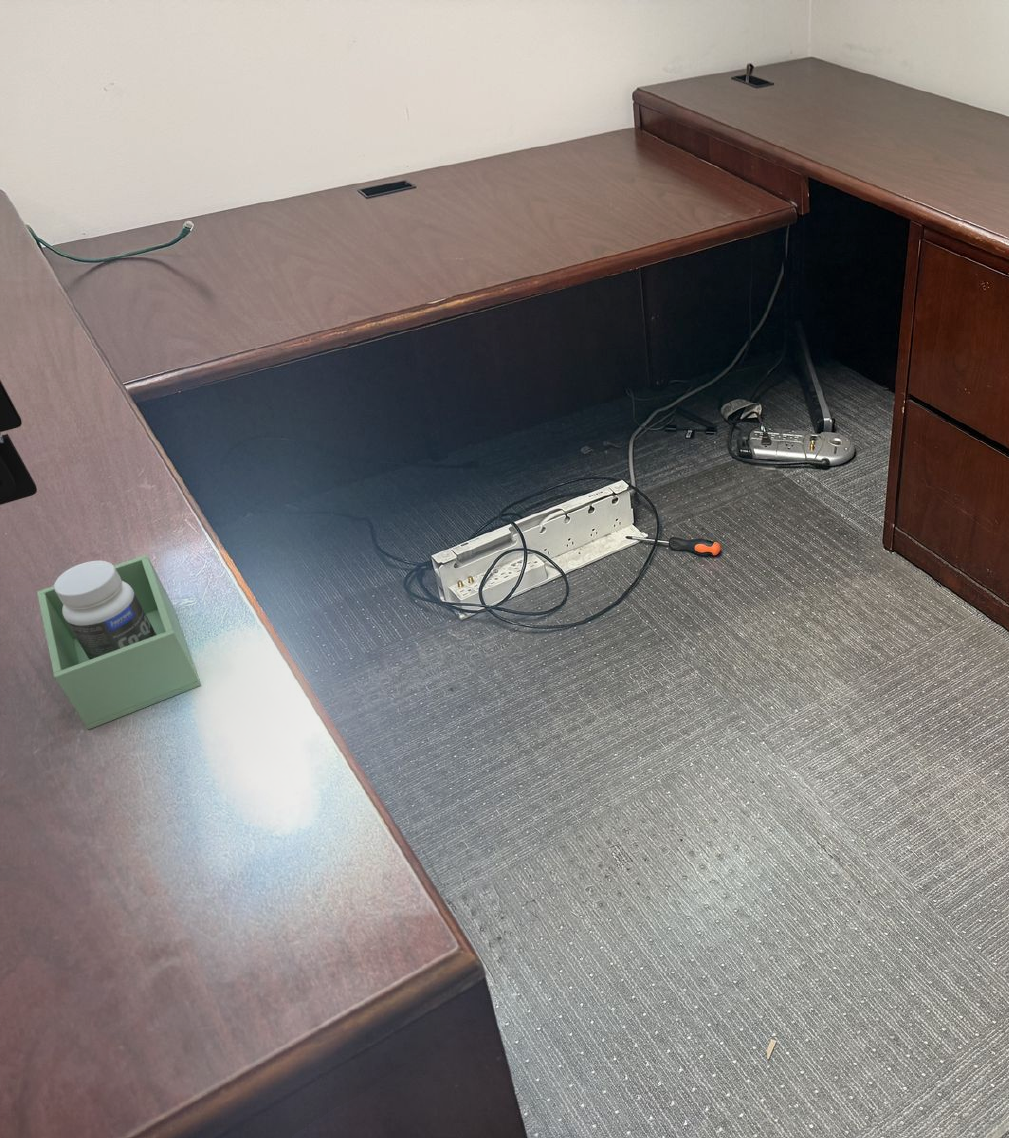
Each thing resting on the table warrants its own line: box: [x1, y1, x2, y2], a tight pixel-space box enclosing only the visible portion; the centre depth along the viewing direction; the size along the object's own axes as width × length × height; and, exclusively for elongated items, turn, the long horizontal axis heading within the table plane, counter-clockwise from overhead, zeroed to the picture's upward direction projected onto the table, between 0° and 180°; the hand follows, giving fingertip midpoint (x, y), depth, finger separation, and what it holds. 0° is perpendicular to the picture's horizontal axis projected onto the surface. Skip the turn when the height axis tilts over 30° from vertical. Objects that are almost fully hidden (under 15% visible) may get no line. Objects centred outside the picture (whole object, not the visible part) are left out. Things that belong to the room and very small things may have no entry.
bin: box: [36, 554, 202, 730], centre depth 79 cm, size 11×8×6 cm
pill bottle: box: [53, 560, 156, 660], centre depth 77 cm, size 5×5×8 cm
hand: (2, 464), depth 66 cm, fingers open, 9 cm apart
